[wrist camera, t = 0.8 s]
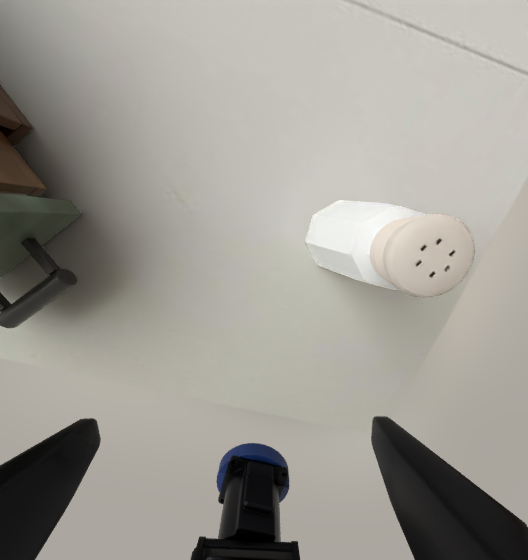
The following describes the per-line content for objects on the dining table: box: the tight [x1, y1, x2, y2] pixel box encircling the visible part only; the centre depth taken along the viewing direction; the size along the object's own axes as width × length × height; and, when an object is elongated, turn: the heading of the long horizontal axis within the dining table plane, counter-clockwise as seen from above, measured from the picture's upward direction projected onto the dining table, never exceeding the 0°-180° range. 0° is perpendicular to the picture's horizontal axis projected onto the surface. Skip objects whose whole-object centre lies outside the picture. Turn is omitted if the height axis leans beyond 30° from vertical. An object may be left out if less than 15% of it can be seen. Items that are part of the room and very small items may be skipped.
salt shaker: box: [305, 200, 475, 297], centre depth 13 cm, size 5×5×11 cm
